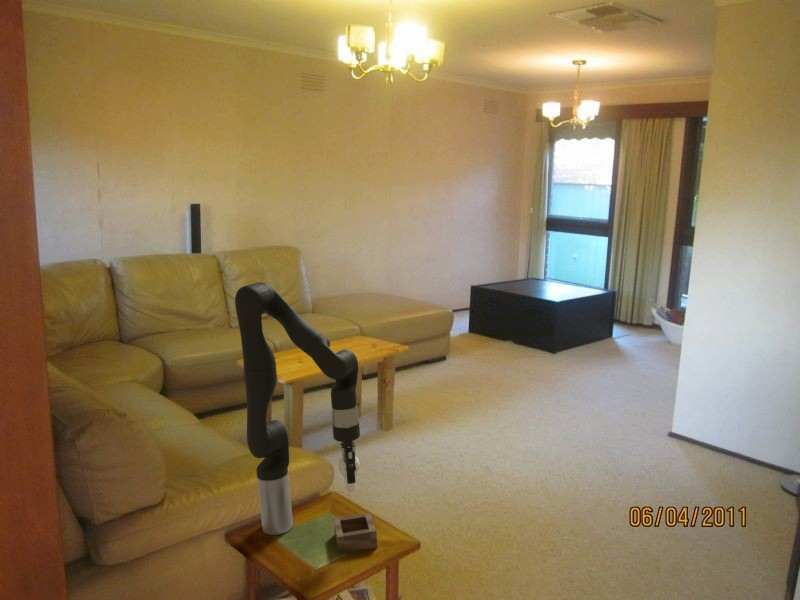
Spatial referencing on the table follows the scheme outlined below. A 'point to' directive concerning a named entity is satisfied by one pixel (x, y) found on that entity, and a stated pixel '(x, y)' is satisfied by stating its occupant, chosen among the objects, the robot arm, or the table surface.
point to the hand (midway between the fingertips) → (350, 477)
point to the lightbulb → (343, 471)
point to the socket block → (355, 533)
